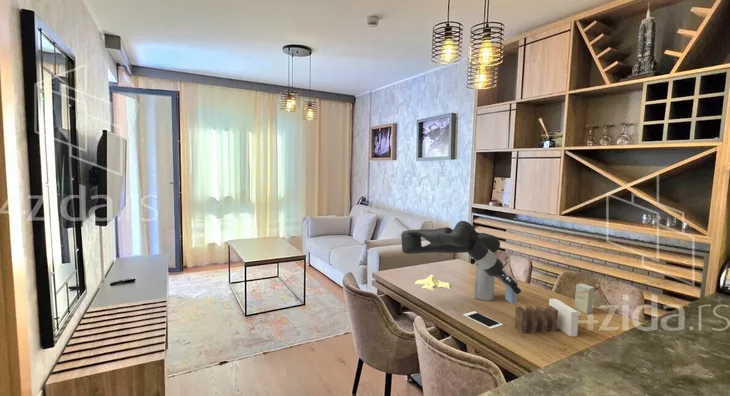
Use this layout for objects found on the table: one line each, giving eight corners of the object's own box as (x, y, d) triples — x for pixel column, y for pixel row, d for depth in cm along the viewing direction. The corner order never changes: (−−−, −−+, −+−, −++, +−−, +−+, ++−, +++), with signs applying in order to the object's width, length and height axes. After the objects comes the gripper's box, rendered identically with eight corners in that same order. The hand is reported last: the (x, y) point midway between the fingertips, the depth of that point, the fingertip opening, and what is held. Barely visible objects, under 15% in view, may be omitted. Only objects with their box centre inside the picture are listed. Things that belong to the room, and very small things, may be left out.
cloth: (457, 288, 195) (457, 277, 195) (430, 293, 187) (430, 282, 186) (432, 276, 215) (433, 267, 215) (407, 281, 207) (407, 270, 206)
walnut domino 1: (521, 333, 141) (522, 311, 140) (514, 327, 146) (515, 306, 145) (525, 333, 141) (526, 311, 141) (519, 327, 146) (520, 306, 146)
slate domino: (511, 303, 140) (512, 281, 139) (505, 299, 145) (506, 277, 144) (516, 303, 140) (517, 281, 139) (509, 298, 145) (510, 277, 144)
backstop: (570, 336, 139) (571, 312, 138) (548, 321, 153) (549, 298, 152) (577, 336, 139) (578, 311, 138) (554, 320, 153) (555, 298, 152)
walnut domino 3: (542, 332, 142) (543, 310, 141) (534, 326, 147) (535, 306, 146) (546, 332, 142) (547, 310, 142) (539, 326, 147) (540, 305, 147)
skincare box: (573, 309, 165) (575, 284, 164) (579, 307, 167) (580, 282, 166) (587, 314, 160) (589, 288, 159) (593, 312, 162) (594, 287, 161)
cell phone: (474, 312, 163) (474, 310, 163) (503, 325, 149) (503, 324, 149) (462, 315, 159) (462, 314, 159) (491, 329, 145) (491, 328, 145)
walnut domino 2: (531, 332, 142) (532, 311, 141) (524, 327, 147) (525, 306, 146) (536, 332, 142) (537, 311, 141) (529, 326, 147) (530, 306, 146)
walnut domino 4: (552, 331, 143) (553, 310, 142) (544, 326, 148) (545, 305, 147) (556, 331, 143) (558, 310, 142) (549, 326, 148) (550, 305, 147)
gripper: (474, 263, 147) (500, 290, 149) (490, 273, 133) (518, 303, 135) (487, 251, 147) (513, 278, 149) (503, 260, 133) (532, 289, 135)
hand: (515, 290), depth 142 cm, fingers closed on slate domino, 5 cm apart
